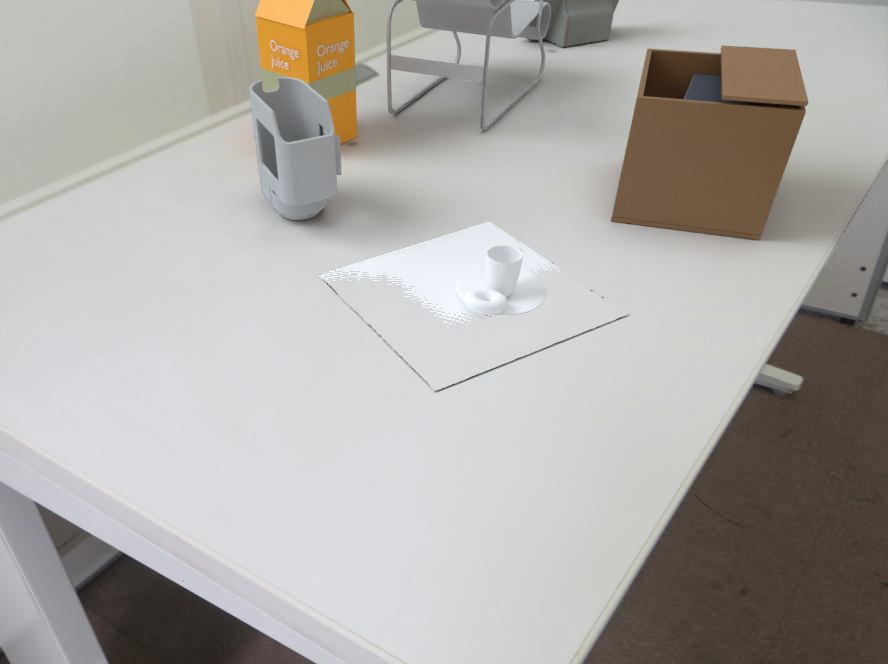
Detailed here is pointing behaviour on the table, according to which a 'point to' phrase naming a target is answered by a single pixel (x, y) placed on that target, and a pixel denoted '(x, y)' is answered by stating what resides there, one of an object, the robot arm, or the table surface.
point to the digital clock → (579, 21)
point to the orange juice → (312, 52)
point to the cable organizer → (295, 147)
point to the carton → (701, 153)
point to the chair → (476, 12)
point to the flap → (762, 75)
